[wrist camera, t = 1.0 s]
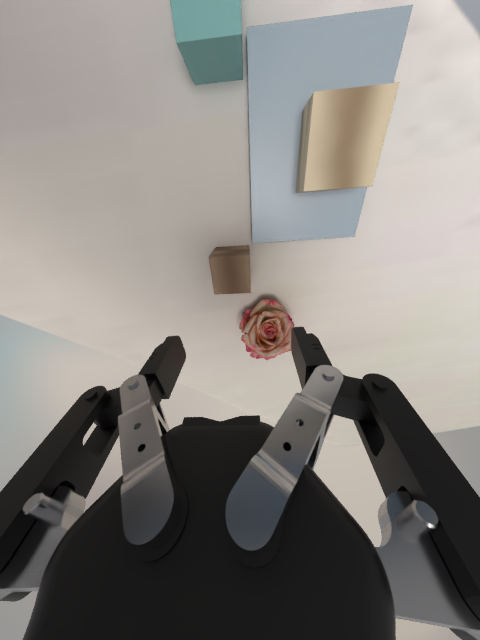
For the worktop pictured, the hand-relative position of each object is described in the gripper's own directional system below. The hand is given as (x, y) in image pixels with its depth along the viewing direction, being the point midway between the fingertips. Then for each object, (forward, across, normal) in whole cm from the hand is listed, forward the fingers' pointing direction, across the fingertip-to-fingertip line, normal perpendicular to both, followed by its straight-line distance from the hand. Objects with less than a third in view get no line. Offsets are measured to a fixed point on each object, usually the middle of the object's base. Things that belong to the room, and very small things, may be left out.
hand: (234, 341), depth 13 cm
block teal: (+18, 0, -22) cm, 29 cm away
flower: (+19, -3, +9) cm, 22 cm away
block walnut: (+19, +1, -1) cm, 19 cm away
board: (+19, -9, -12) cm, 24 cm away
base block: (+18, -11, -12) cm, 24 cm away
